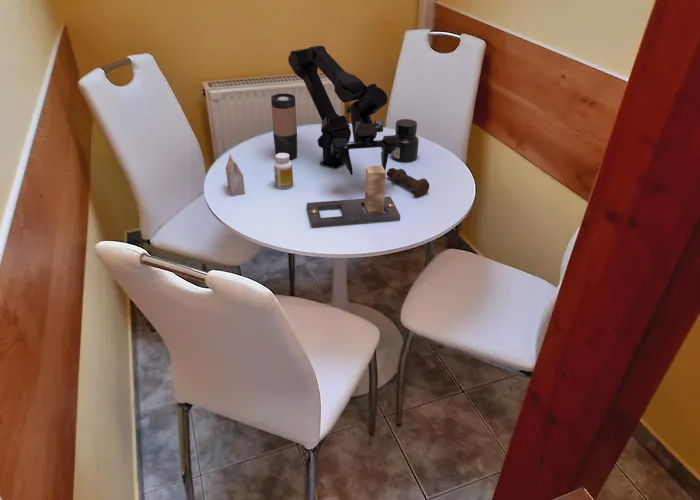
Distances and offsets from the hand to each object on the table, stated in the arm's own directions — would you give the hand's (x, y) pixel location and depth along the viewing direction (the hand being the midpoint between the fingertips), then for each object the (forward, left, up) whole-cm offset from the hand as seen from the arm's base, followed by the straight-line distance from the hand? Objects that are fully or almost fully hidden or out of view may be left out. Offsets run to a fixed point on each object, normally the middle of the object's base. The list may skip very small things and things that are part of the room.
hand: (368, 173), depth 150 cm
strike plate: (+1, -10, -8) cm, 13 cm away
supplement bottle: (-25, -7, -8) cm, 27 cm away
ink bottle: (-4, +31, -8) cm, 32 cm away
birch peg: (+6, -6, -8) cm, 11 cm away
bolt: (+6, +13, -8) cm, 16 cm away
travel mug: (-37, +10, -8) cm, 39 cm away
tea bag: (-35, -17, -8) cm, 40 cm away
